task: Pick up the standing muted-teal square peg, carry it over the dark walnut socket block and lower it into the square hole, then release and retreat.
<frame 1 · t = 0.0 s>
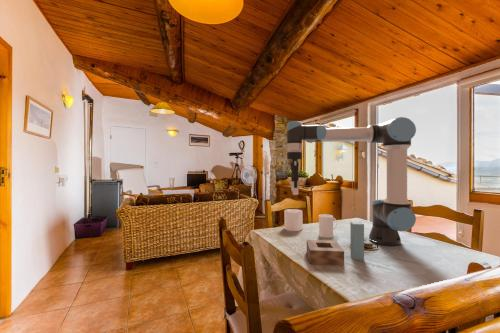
hand: (294, 192, 123), 28 cm above the table, fingers open, 13 cm apart
mug: (328, 235, 142), on the table
peg: (357, 257, 108), on the table
cup: (293, 229, 157), on the table
socket: (324, 258, 108), on the table
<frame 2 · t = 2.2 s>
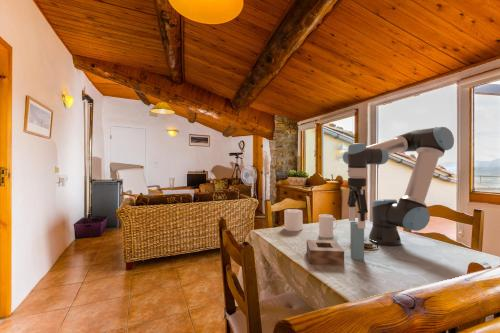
hand: (356, 224, 108), 15 cm above the table, fingers open, 13 cm apart
nothing on the table moved.
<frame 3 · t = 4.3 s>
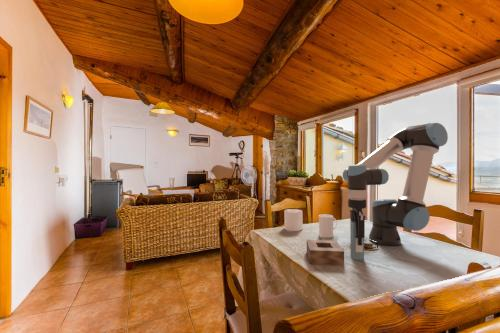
hand: (357, 249, 108), 4 cm above the table, fingers closed on peg, 4 cm apart
peg: (357, 257, 108), on the table, touching gripper
everything else where it was.
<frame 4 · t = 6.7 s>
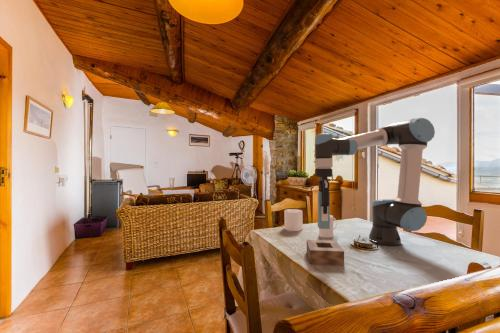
hand: (323, 219, 108), 18 cm above the table, fingers closed on peg, 4 cm apart
peg: (323, 227, 108), point 14 cm above the table, touching gripper
everything else where it was.
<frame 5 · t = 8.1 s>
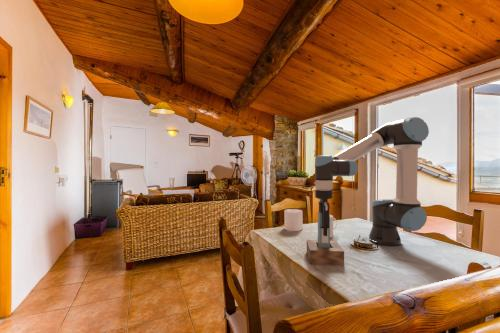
hand: (323, 240, 108), 8 cm above the table, fingers closed on peg, 4 cm apart
peg: (323, 248, 108), point 4 cm above the table, touching gripper
everything else where it was.
when the fingers open (7 cm above the table, at t = 9.2 s): peg drops 3 cm, resting in socket.
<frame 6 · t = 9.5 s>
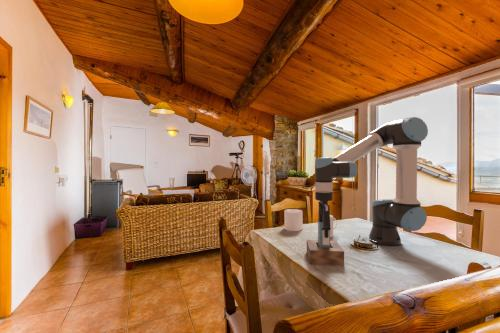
hand: (324, 240, 108), 8 cm above the table, fingers open, 9 cm apart
peg: (324, 258, 108), resting in socket
everything else where it was.
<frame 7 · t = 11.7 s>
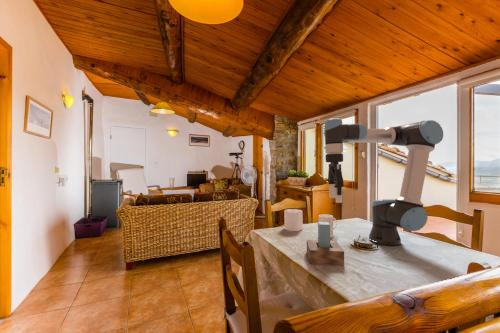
hand: (335, 200, 108), 26 cm above the table, fingers open, 13 cm apart
nothing on the table moved.
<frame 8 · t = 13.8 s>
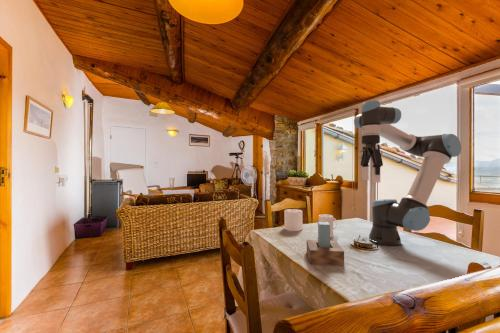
hand: (370, 181, 110), 35 cm above the table, fingers open, 13 cm apart
nothing on the table moved.
at the end: peg 0.0 cm off-centre on the socket, point 0.0 cm above the socket's base; peg tilted 0°; the gripper is holding nothing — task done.
